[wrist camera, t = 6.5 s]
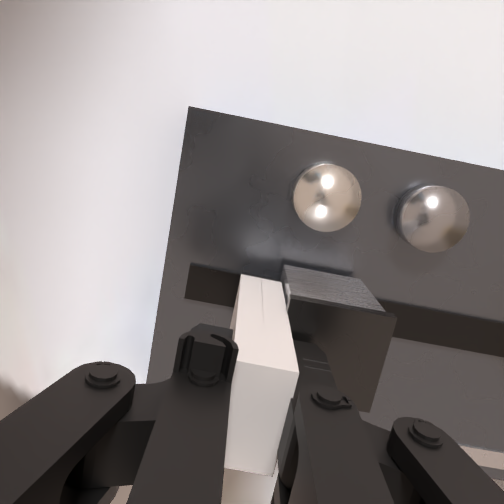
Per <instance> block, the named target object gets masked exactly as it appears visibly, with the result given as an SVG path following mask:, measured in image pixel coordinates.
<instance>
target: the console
mask: <svg viewBox="0 0 504 504" xmlns="http://www.w3.org/2000/svg"><path fill="white" fill-rule="evenodd" d="M284 265H289V266H294V267H300V268H305V269H310V270H315V271H321V272H326V273H331V274H336V275H342V276H347V277H352V278H357V279H361V280H362V282H363V283H364V284H365V286H366V287H367V288H368V289H369V291H370V292H371V293H372V294H373V296H374V297H375V298H376V300H377V301H378V302H379V303H380V305H381V306H382V307H383V309H384V310H385V311H386V312H389V313H393V314H394V315H395V316H396V317H397V321H396V325H395V328H394V332H393V335H392V338H391V342H390V345H389V349H388V352H387V355H386V359H385V362H384V366H383V369H382V373H381V376H380V379H379V383H378V386H377V390H376V393H375V396H374V400H373V403H372V407H371V410H370V413H367V412H361V411H359V414H360V417H361V419H362V420H364V421H366V422H368V423H370V424H373V425H375V426H378V427H381V428H383V429H386V430H388V431H391V429H392V426H393V422H394V421H395V420H396V419H398V418H401V417H412V418H420V419H423V420H424V421H425V420H426V421H429V422H431V423H432V424H433V425H435V426H437V427H438V428H440V429H442V430H443V431H444V432H445V433H447V434H448V435H449V436H450V437H451V438H452V439H453V440H454V441H455V442H456V443H457V444H458V445H459V446H460V447H461V448H462V449H463V450H464V451H465V452H466V453H467V454H468V455H469V456H470V457H471V458H472V459H473V460H474V461H475V462H476V463H477V464H478V465H479V466H480V468H481V469H482V470H483V471H484V472H485V473H486V474H487V475H488V476H489V477H490V478H493V479H499V480H504V170H499V169H495V168H490V167H485V166H480V165H475V164H470V163H465V162H460V161H455V160H450V159H445V158H441V157H436V156H431V155H426V154H421V153H416V152H411V151H406V150H401V149H396V148H391V147H387V146H382V145H377V144H372V143H367V142H362V141H357V140H352V139H347V138H342V137H337V136H333V135H328V134H323V133H318V132H313V131H308V130H303V129H298V128H293V127H288V126H283V125H279V124H274V123H269V122H264V121H259V120H254V119H249V118H244V117H239V116H234V115H229V114H225V113H220V112H215V111H210V110H205V109H200V108H195V107H190V106H189V108H188V114H187V121H186V127H185V134H184V140H183V147H182V153H181V160H180V166H179V173H178V180H177V186H176V193H175V199H174V206H173V212H172V219H171V225H170V232H169V238H168V245H167V251H166V258H165V264H164V271H163V277H162V284H161V290H160V297H159V303H158V310H157V316H156V323H155V329H154V336H153V342H152V349H151V355H150V362H149V369H148V375H147V382H146V384H151V383H158V382H162V381H165V380H167V379H170V378H171V376H172V373H173V368H174V362H175V357H176V351H177V346H178V340H179V337H180V336H181V335H182V334H183V333H186V332H189V331H191V329H192V328H193V327H195V326H197V325H198V324H200V323H202V324H208V325H213V326H218V327H223V328H228V329H230V325H231V320H232V315H233V310H234V306H235V301H236V296H237V291H238V286H239V282H240V277H241V274H243V275H248V276H253V277H258V278H263V279H268V280H273V281H278V282H280V280H281V275H282V271H283V266H284Z"/></svg>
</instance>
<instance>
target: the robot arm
mask: <svg viewBox="0 0 504 504" xmlns="http://www.w3.org/2000/svg"><path fill="white" fill-rule="evenodd" d="M277 458H278V468H279V473H278V477H277V481H276V485H275V489H274V493H273V496H272V500H271V504H504V491H503V490H502V489H501V488H500V487H499V486H498V485H497V484H496V483H495V482H494V481H493V480H492V479H491V478H490V477H489V476H488V475H487V474H486V473H485V472H484V471H483V470H482V469H481V468H480V466H479V465H478V464H477V463H476V462H475V461H474V460H473V459H472V458H471V457H470V456H469V455H468V454H467V453H466V452H465V451H464V450H463V449H462V448H461V447H460V446H459V445H458V444H457V443H456V442H455V441H454V440H453V439H452V438H451V437H450V436H449V435H448V434H447V433H445V432H444V431H443V430H442V429H440V428H438V427H437V426H435V425H433V424H432V423H431V422H429V421H426V420H425V421H424V420H423V419H420V418H412V417H401V418H398V419H396V420H395V421H394V422H393V426H392V429H391V431H388V430H386V429H383V428H381V427H378V426H375V425H373V424H370V423H368V422H366V421H364V420H362V419H361V417H360V414H359V411H358V409H357V406H356V405H355V403H354V402H353V400H352V399H351V398H349V397H348V396H347V395H346V394H344V393H343V392H341V391H339V390H338V389H337V386H336V383H335V380H334V377H333V374H332V372H331V369H330V366H329V364H328V360H327V357H326V354H325V353H324V352H323V351H322V350H321V349H320V348H319V347H318V346H317V345H316V344H313V343H308V342H302V341H297V340H293V338H292V333H291V328H290V323H289V318H288V314H287V310H286V303H285V298H284V293H283V288H282V283H281V282H278V281H273V280H268V279H263V278H258V277H253V276H248V275H243V274H241V277H240V282H239V286H238V291H237V296H236V301H235V306H234V310H233V315H232V320H231V325H230V329H228V328H223V327H218V326H213V325H208V324H202V323H200V324H198V325H197V326H195V327H193V328H192V329H191V331H189V332H186V333H183V334H182V335H181V336H180V337H179V340H178V346H177V351H176V357H175V362H174V368H173V373H172V376H171V378H170V379H167V380H165V381H162V382H158V383H151V384H136V380H135V375H134V374H133V373H132V372H131V371H130V370H129V369H128V368H126V367H124V366H122V365H119V364H114V363H111V362H93V363H88V364H83V365H81V366H79V367H77V368H75V369H73V370H72V371H70V372H69V373H68V374H66V375H65V376H63V377H62V378H60V379H59V380H58V381H56V382H55V383H53V384H52V385H51V386H49V387H48V388H46V389H45V390H43V391H42V392H41V393H39V394H38V395H36V396H35V397H33V398H32V399H31V400H29V401H28V402H26V403H25V404H24V405H22V406H21V407H19V408H18V409H17V410H15V411H14V412H12V413H11V414H9V415H8V416H6V417H5V418H4V419H2V420H1V421H0V504H110V503H111V501H112V500H113V499H114V497H115V495H116V493H117V491H118V489H119V486H124V485H133V486H132V489H131V492H130V495H129V498H128V501H127V503H126V504H221V497H222V485H223V474H224V468H228V469H233V470H239V471H244V472H250V473H256V474H261V475H267V476H272V477H273V474H274V470H275V466H276V462H277Z"/></svg>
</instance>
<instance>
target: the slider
mask: <svg viewBox="0 0 504 504" xmlns="http://www.w3.org/2000/svg"><path fill="white" fill-rule="evenodd" d="M280 282H281V283H282V288H283V293H284V298H285V303H286V310H287V314H288V318H289V323H290V328H291V333H292V338H293V340H297V341H302V342H308V343H313V344H316V345H317V346H318V347H319V348H320V349H321V350H322V351H323V352H324V353H325V354H326V357H327V360H328V364H329V366H330V369H331V372H332V374H333V377H334V380H335V383H336V386H337V389H338V390H339V391H341V392H343V393H344V394H346V395H347V396H348V397H349V398H351V399H352V400H353V402H354V403H355V405H356V406H357V409H358V411H361V412H367V413H370V410H371V407H372V403H373V400H374V396H375V393H376V390H377V386H378V383H379V379H380V376H381V373H382V369H383V366H384V362H385V359H386V355H387V352H388V349H389V345H390V342H391V338H392V335H393V332H394V328H395V325H396V321H397V317H396V316H395V315H394V314H393V313H389V312H386V311H385V310H384V309H383V307H382V306H381V305H380V303H379V302H378V301H377V300H376V298H375V297H374V296H373V294H372V293H371V292H370V291H369V289H368V288H367V287H366V286H365V284H364V283H363V282H362V280H361V279H357V278H352V277H347V276H342V275H336V274H331V273H326V272H321V271H315V270H310V269H305V268H300V267H294V266H289V265H284V266H283V271H282V275H281V280H280Z"/></svg>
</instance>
